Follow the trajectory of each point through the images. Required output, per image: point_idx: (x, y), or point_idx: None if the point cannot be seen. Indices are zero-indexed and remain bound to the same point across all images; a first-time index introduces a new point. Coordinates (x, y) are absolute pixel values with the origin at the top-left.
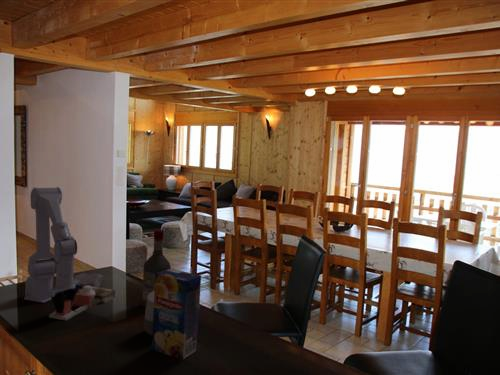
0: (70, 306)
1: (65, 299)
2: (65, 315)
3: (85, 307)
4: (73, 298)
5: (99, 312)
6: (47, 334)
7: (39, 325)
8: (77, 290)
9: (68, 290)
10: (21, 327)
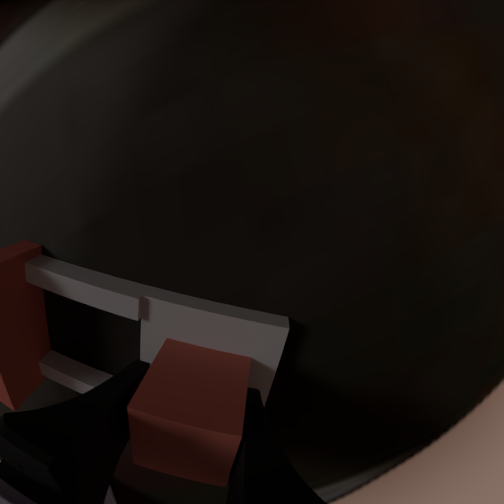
0: (158, 370)
1: (136, 447)
2: (243, 351)
3: (54, 266)
4: (86, 398)
5: (78, 133)
6: (490, 316)
7: (377, 414)
8: (12, 424)
9: (80, 498)
10: (393, 453)
